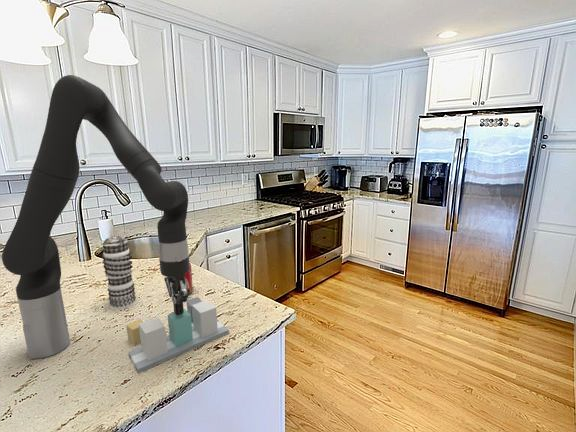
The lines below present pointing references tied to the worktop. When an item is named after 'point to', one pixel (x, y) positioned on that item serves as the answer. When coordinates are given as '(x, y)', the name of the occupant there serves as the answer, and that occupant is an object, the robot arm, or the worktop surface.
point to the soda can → (189, 279)
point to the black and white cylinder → (118, 272)
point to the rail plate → (161, 348)
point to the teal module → (180, 328)
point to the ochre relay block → (134, 332)
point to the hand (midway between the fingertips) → (179, 313)
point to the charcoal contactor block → (192, 302)
